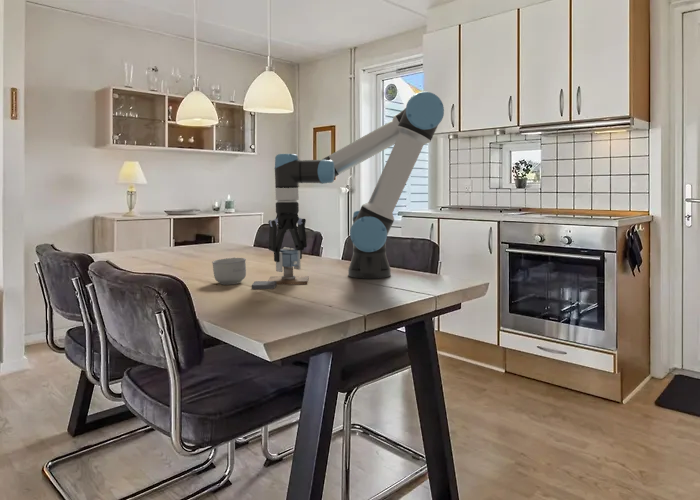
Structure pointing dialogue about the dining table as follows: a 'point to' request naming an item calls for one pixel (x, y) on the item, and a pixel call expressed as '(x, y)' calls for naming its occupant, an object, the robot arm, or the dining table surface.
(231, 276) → the teacup
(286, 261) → the cap
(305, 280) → the post board
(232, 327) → the dining table surface
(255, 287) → the coaster
